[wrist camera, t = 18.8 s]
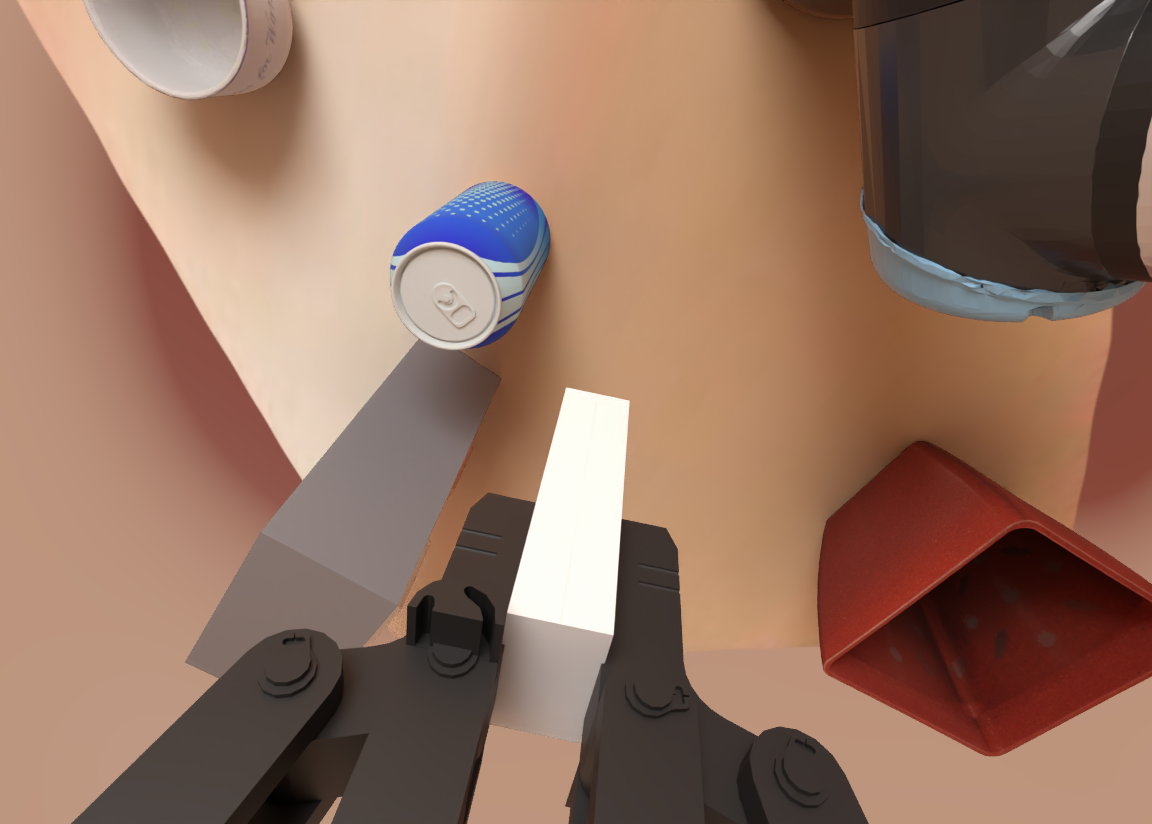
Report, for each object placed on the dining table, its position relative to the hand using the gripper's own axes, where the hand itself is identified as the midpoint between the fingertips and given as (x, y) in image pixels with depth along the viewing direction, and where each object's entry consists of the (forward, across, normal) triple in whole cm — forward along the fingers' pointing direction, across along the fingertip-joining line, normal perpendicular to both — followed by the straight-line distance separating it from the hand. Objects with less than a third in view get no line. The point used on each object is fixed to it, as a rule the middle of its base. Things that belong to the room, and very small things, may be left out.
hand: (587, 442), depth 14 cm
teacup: (+36, -29, +7) cm, 47 cm away
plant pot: (+37, +34, -24) cm, 56 cm away
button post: (+36, -15, -24) cm, 46 cm away
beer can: (+36, -10, -6) cm, 38 cm away
